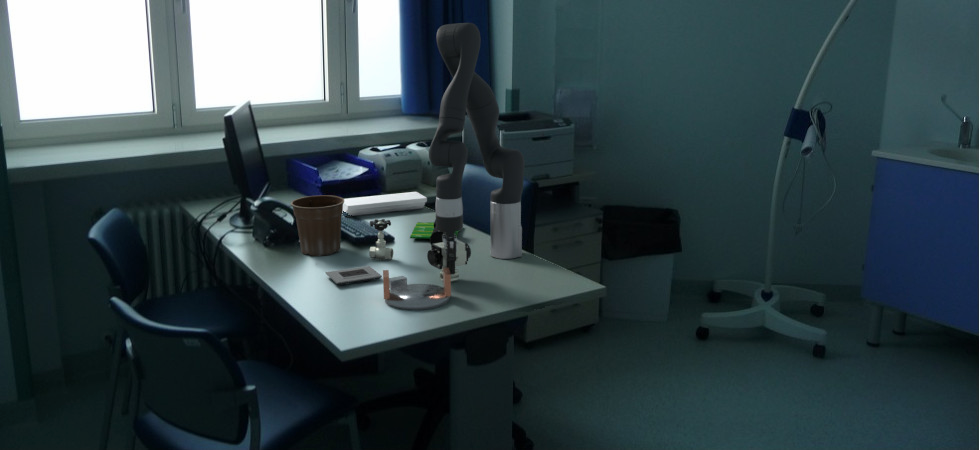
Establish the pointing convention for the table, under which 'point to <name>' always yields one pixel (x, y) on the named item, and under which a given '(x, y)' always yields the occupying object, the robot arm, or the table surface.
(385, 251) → the valve
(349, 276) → the electrical outlet
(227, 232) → the table surface
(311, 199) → the plant pot
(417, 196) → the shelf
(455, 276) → the pneumatic valve
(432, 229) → the circuit board with cylinder
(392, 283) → the grey rectangular block
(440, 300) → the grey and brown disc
